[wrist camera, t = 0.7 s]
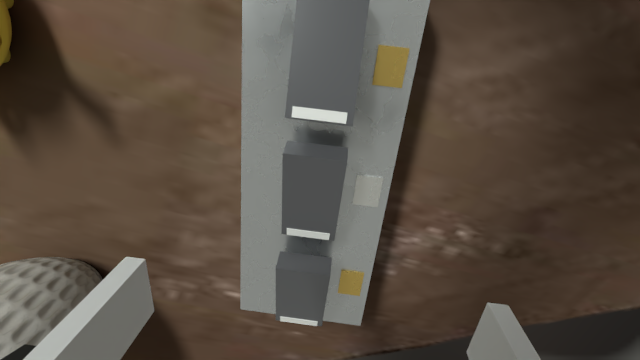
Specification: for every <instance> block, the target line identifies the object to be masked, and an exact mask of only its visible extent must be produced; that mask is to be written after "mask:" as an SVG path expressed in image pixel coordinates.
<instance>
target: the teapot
mask: <svg viewBox="0 0 640 360" xmlns="http://www.w3.org/2000/svg"><path fill="white" fill-rule="evenodd" d="M13 4H14V0H0V66H1V65H2V63H6V62H8V61H9V60H10V58H11V54H10V50H9V48H10V44H11V38H12V26H11V19H10V15H9V11H8V9H9V8H11V7H12V6H13Z"/></svg>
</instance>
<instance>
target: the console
mask: <svg viewBox="0 0 640 360" xmlns="http://www.w3.org/2000/svg"><path fill="white" fill-rule="evenodd" d="M429 3H430V0H370V2H369V9H368V17H367V24H366V31H365V39H364V46H363V54H362V61H361V68H360V76H359V83H358V91H357V98H356V105H355V113H354V120H353V126H344V125H336V124H328V123H319V122H311V121H303V120H295V119H288V118H285V110H286V100H287V90H288V80H289V70H290V60H291V50H292V40H293V30H294V20H295V10H296V0H242V141H241V308H240V309H243V310H250V311H257V312H265V313H272V314H276V265H277V261H278V257H279V253H280V251H283V252H291V253H298V254H306V255H314V256H321V257H329V258H332V263H331V275H330V281H329V287H328V293H327V298H326V304H325V310H324V316H323V321H330V322H337V323H344V324H352V325H359V326H361V321H362V316H363V312H364V307H365V302H366V298H367V293H368V288H369V284H370V279H371V274H372V270H373V265H374V260H375V256H376V251H377V246H378V241H379V237H380V232H381V227H382V223H383V218H384V213H385V209H386V204H387V199H388V195H389V190H390V185H391V181H392V176H393V171H394V167H395V162H396V157H397V153H398V148H399V143H400V139H401V134H402V129H403V125H404V120H405V115H406V111H407V106H408V101H409V97H410V92H411V87H412V83H413V78H414V73H415V69H416V64H417V59H418V55H419V50H420V45H421V41H422V36H423V31H424V26H425V22H426V17H427V12H428V8H429ZM287 140H288V141H297V142H305V143H313V144H321V145H329V146H337V147H345V148H348V160H347V167H346V173H345V179H344V185H343V191H342V197H341V203H340V209H339V215H338V221H337V227H336V233H335V239H334V241H331V240H323V239H316V238H308V237H300V236H293V235H286V234H281V232H282V160H283V151H284V148H285V145H286V142H287Z"/></svg>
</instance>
